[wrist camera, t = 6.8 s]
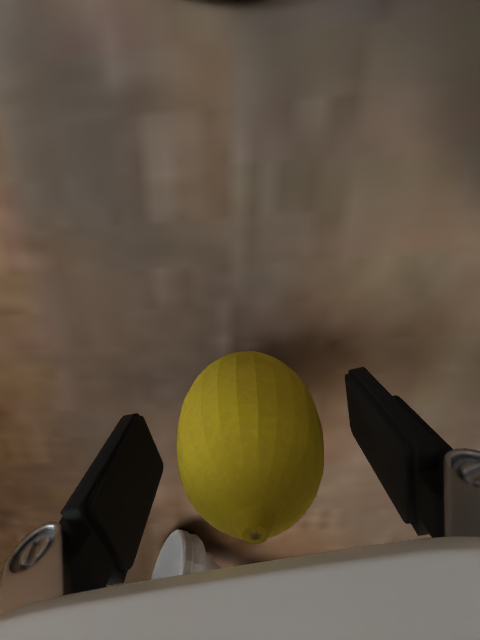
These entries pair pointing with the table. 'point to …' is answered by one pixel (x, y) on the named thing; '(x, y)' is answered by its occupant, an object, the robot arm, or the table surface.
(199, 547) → the chess piece
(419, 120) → the table surface
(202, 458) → the lemon
